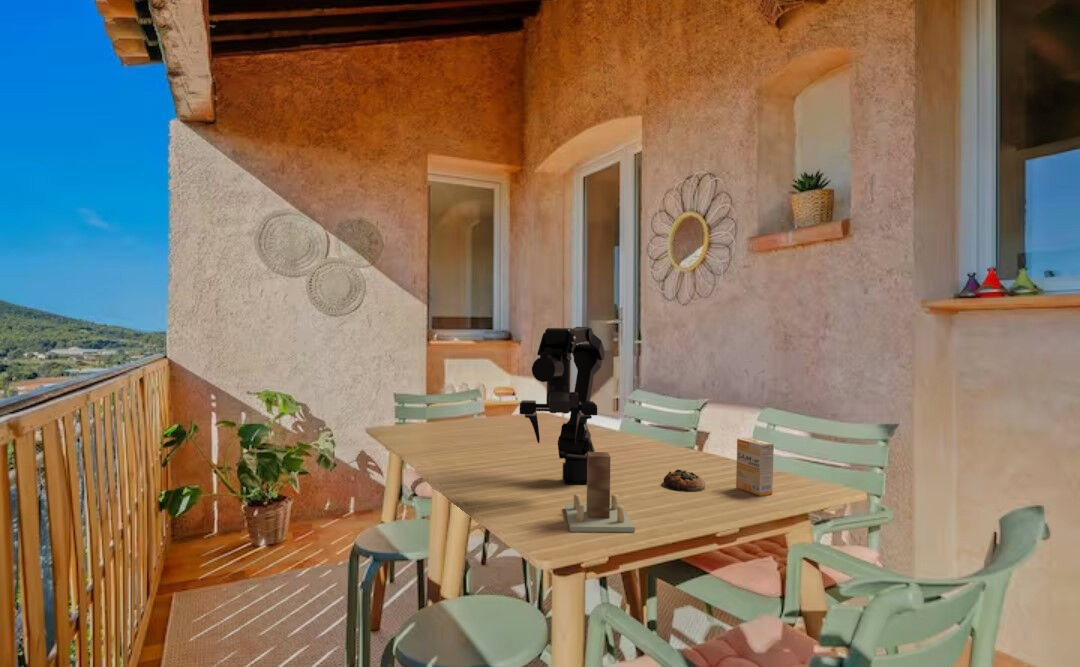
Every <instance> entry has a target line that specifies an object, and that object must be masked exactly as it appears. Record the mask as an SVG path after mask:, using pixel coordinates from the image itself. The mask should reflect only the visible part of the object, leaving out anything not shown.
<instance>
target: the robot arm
mask: <svg viewBox="0 0 1080 667" xmlns="http://www.w3.org/2000/svg"><path fill="white" fill-rule="evenodd" d="M586 342H588V343H586ZM571 355H572V356H571ZM537 356H539V357H537V358H536V359H535V360H534V362H533V364H532V366H531V373H532V376H533V377H534V378H535V380H536V381H538V382H541V383H546V397H545V398H546V403H537V401H536V400H529V399H527V400H525V399H522V400H521V401H520V402H519V415H524V418H525V419H529V422H530V424H531V426H532V428H533V430H534V434H535V438H536V441H537V444H540V440H541V439H540V437H541V436H540V432H539V431H540V430H539V423H538V422H539V421H538V413H537V412H549V413H550V414H558V413H559V414H560V413H561V414H569V413H570V415H569V419H568V421H567V422H565V423H563V424H562V425H561V428H560V429H561V430H560V434H559V436H558V439H557V449H558V457H559V459H564V462H563V463H562V470H561V472H562V474H561V476H562V480H563V481H564V484H566V485H587V452H596V450H595V448H594V444H593V441H592V439H591V437H592V435H591V433H590V430H589V428H588V426H587V423H588V419H589V420H591V419H592V418H593V417H592V416H598V405H597V403H595V402H594V401H593V400H592V401H591V396H592V390H593V382H594V376H595V375H596V374H597V373H598V371H599V370H600V369H601V367H602V362H603V361H604V359H605V348H604V344H603V341H602V340H601V339H600V338H599V337H598V335H596V334H594V332H593V328H592V327H589V326H575V327H573V328H571V327H547V328H546V329H545V331H544V332H543V334H542V337H541V339H540V343H539V347H538V350H537ZM572 357H573V362H574V365H575V368H576V369H577V372H576V373H577V374H576V379H575V384H574V391H571V361H572Z"/></svg>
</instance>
